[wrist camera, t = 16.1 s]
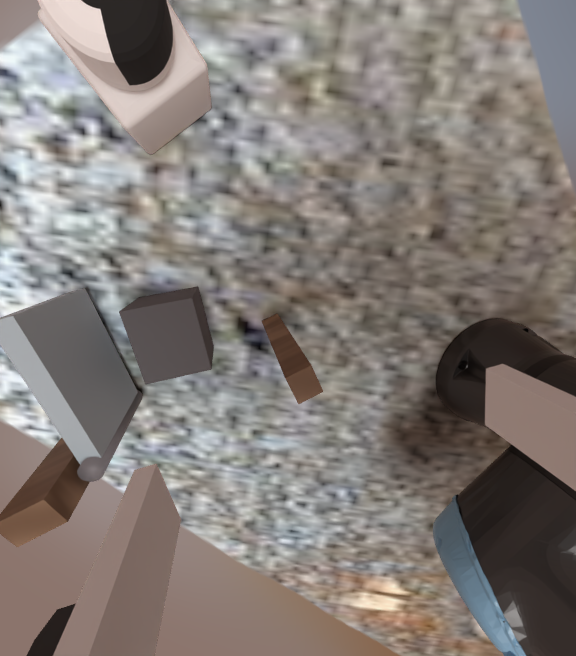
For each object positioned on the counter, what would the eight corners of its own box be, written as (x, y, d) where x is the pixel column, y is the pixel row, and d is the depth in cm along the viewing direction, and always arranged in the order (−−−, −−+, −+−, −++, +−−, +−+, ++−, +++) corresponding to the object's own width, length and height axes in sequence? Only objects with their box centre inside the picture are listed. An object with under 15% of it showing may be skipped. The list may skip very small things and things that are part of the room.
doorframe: (285, 330, 34) (323, 391, 21) (100, 422, 33) (17, 547, 20) (277, 313, 33) (311, 365, 20) (86, 406, 32) (-10, 526, 19)
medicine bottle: (155, 18, 23) (91, -179, 12) (213, 108, 26) (204, 13, 15) (86, 73, 23) (-40, -73, 12) (150, 157, 26) (95, 99, 15)
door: (87, 287, 28) (7, 317, 18) (145, 400, 33) (108, 476, 22) (56, 295, 28) (-44, 331, 17) (119, 408, 32) (69, 489, 22)
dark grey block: (213, 346, 33) (211, 369, 27) (159, 358, 32) (145, 384, 26) (198, 286, 30) (192, 298, 25) (139, 297, 30) (119, 311, 24)
